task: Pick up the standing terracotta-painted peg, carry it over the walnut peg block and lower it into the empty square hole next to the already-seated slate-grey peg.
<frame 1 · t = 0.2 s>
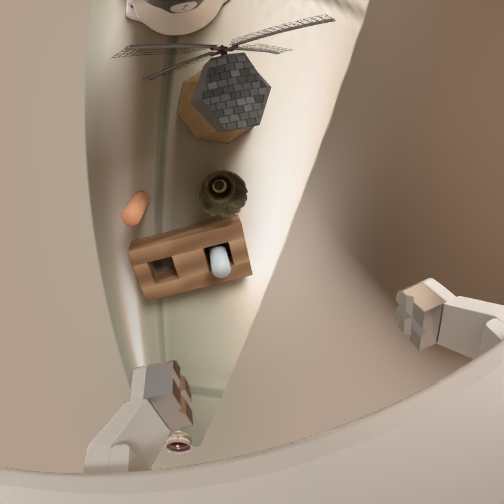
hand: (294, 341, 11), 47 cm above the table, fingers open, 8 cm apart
peg: (141, 200, 54), on the table
peg block: (190, 252, 59), on the table
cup: (219, 185, 55), on the table
wineglass: (177, 411, 76), on the table
windmill: (219, 103, 50), on the table
seated peg: (216, 245, 59), resting in peg block
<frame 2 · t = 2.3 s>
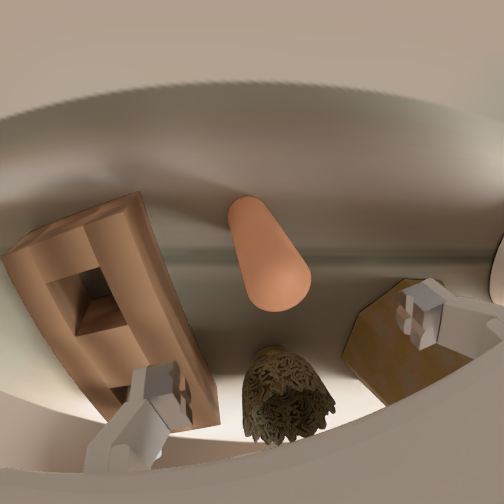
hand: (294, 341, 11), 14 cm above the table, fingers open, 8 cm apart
peg: (247, 216, 23), on the table
peg block: (127, 320, 25), on the table
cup: (270, 355, 30), on the table
windmill: (398, 332, 31), on the table
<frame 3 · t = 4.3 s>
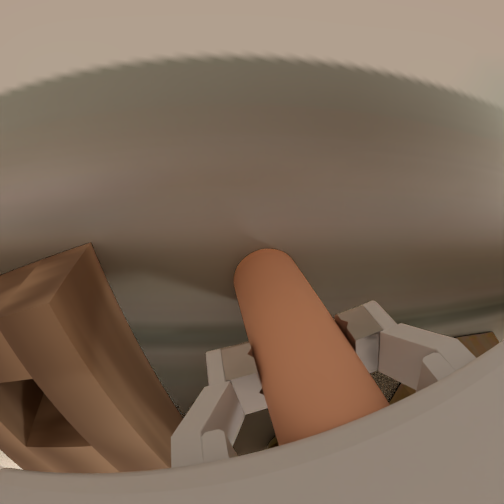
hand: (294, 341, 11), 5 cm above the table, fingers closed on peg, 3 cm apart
peg: (265, 278, 15), on the table, touching gripper
peg block: (97, 408, 16), on the table
windmill: (438, 392, 23), on the table
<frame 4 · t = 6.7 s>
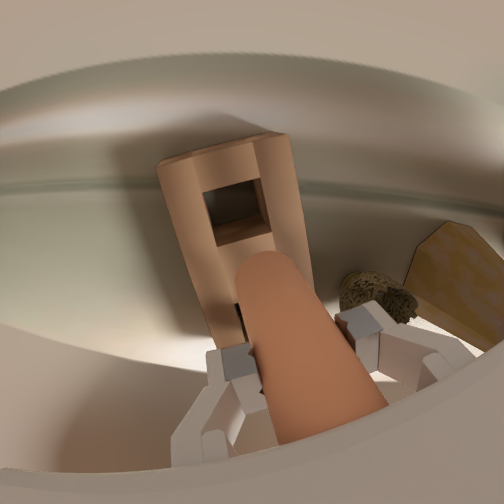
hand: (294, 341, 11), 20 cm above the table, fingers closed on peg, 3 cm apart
peg: (266, 280, 15), point 16 cm above the table, touching gripper
peg block: (243, 246, 31), on the table
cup: (352, 283, 35), on the table
windmill: (442, 270, 37), on the table
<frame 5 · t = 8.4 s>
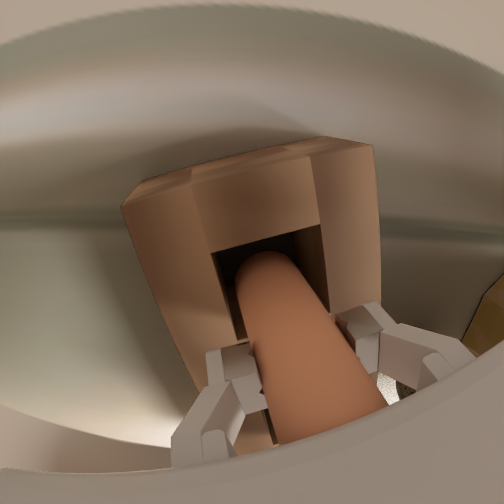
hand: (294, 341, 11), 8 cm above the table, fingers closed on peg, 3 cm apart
peg: (266, 281, 15), point 4 cm above the table, touching gripper
peg block: (271, 313, 20), on the table
windmill: (501, 315, 27), on the table
when the fingers open (7 cm above the table, at t = 9.4 s): peg drops 2 cm, resting in peg block.
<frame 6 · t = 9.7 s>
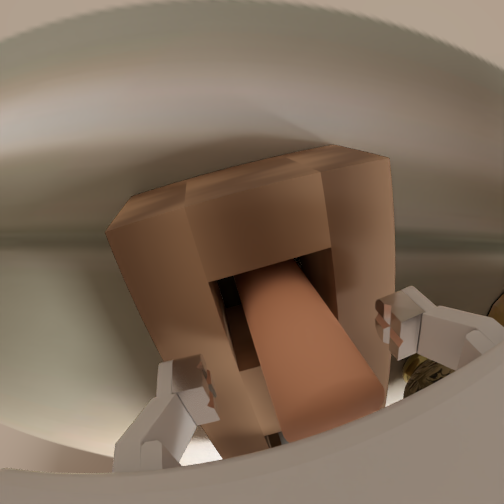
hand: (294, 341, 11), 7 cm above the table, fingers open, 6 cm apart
peg: (260, 262, 17), resting in peg block
peg block: (274, 334, 19), on the table
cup: (415, 359, 23), on the table
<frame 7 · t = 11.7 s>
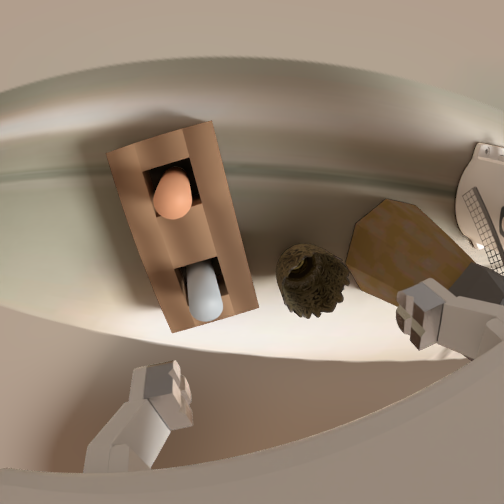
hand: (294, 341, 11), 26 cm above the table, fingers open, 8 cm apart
peg: (174, 180, 33), resting in peg block
peg block: (186, 222, 35), on the table
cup: (292, 257, 39), on the table
windmill: (387, 247, 42), on the table
seated peg: (198, 262, 37), resting in peg block
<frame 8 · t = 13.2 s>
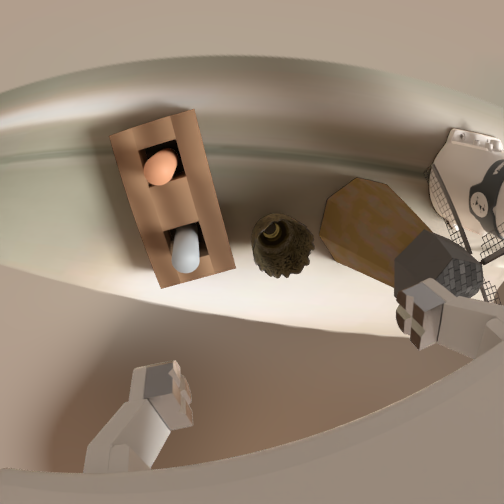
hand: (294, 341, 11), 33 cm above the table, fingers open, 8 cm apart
peg: (166, 159, 39), resting in peg block
peg block: (176, 194, 41), on the table
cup: (269, 227, 45), on the table
windmill: (360, 222, 47), on the table
seated peg: (186, 229, 43), resting in peg block
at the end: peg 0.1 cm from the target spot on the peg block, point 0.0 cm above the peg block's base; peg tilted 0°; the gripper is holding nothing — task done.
